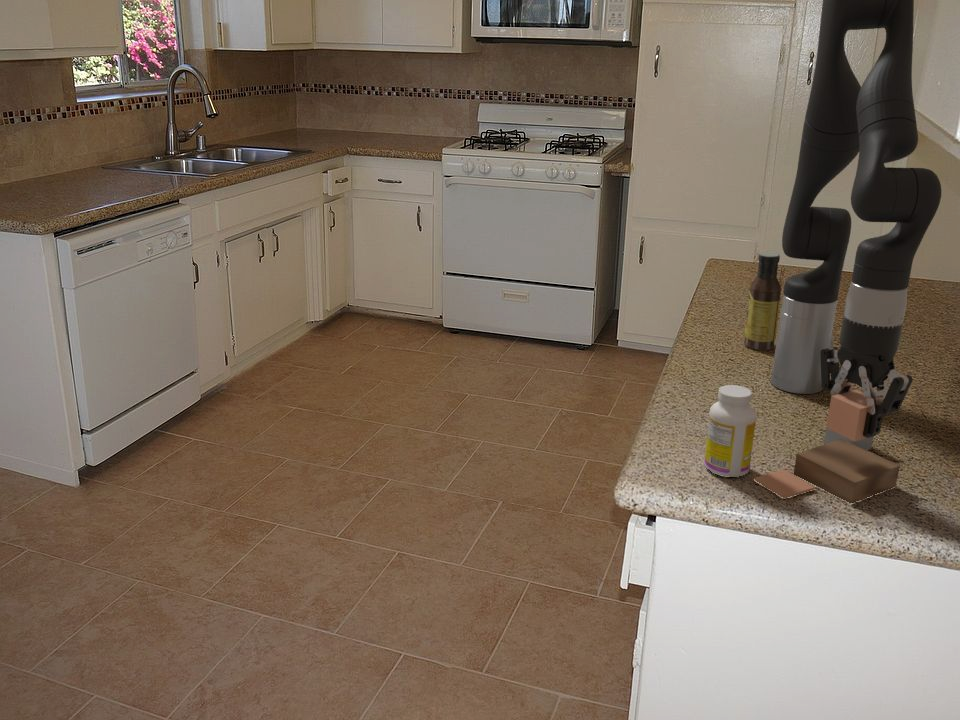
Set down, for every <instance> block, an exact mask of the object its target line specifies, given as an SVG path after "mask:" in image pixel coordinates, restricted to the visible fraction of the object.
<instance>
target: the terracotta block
mask: <svg viewBox="0 0 960 720" xmlns="http://www.w3.org/2000/svg"><path fill="white" fill-rule="evenodd" d="M830 396H831V395H830ZM829 402H830V403H829V407H828V408H829V409H828V415H827V420H826V427H825V429H826V428H828V429H830V430H832V431H834V432H836V433H838V434H840V435H842V436H844V437H846V438H848V439H850V440H852V441H858V440H862V439H865V438H867V437H865V436H863V430H864V425H865V420H866V414H867V413H868V408H867V400H866V398H865V397H864V396H863V391H862V392H861V391H859V390H857V389H855V390H850V392H846V393H842V394H838V395H834V396H831V398H830V401H829ZM876 403H877V400H876ZM879 435H880V433H879V434H876V436H879Z"/></svg>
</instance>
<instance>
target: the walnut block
mask: <svg viewBox="0 0 960 720" xmlns="http://www.w3.org/2000/svg"><path fill="white" fill-rule="evenodd" d="M794 463H795V464H794V470H793V474H794V475H796V476H798V477H800V478H802V479H804V480H806V481H808V482H810V483H812V484H814V485H816V486H818V487H820V488H822V489H824V490H825V491H827V492H829V493H831V494H833V495H835V496H837V497H839V498H841V499H843V500H846V501H847V502H849V503H854V502H856V501H859V500H863V499H865V498H867V497H870V496H872V495H875V494H877V493H880V492H883V491H885V490H888V489H891V488H893V487H895V488H896V487H897V482H898V477H899V472H900V464H898V463H896V462H893V461H891V460H889V459H886V458H884V457H882V456H880V455H877V454H875V453H873V452H871V451H870V450H865V449H862V448H860V447H858V446H856V445H854V444H851V443H849V442H847V441H845V440H843V439H839V440H836V441H833V442H830V443H827V444H825V443H823V444H822V445H818V446H817V447H813V448H811V449H806V450H804V451H800V452H798V453H796V457H795V462H794ZM891 490H892V489H891Z"/></svg>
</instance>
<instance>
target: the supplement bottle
mask: <svg viewBox="0 0 960 720" xmlns="http://www.w3.org/2000/svg"><path fill="white" fill-rule="evenodd" d="M752 395H753V392H752V390H750V389H749V388H747V387H745V386H742V385H741V386H740V385H736V384H735V385H733V384H727V385H726V384H725V385H722V386H721V387H719V389H718V394H717V399H718V401H717V402H715V403H713V404H712V405H711V407H710V409H709V414H708V425H707V433H706V443H705V452H704V462H703V463H704V467H705V466H706V467H707V468H708V469H709V470H710V471H712V472H714V473H717V474H720V475H724V476H729V477H737V478H739V477H738V476H742V477H744V476H746V475H747V474H748V473H749V472H750V468H751V461H752V453H753V444H754V436H755V429H756V421H757V412H756V410H755V408H753V407H752V406H751V405H750V404H751V402H752V398H753V397H752ZM706 467H705V468H706ZM710 471H709V472H710ZM745 474H746V475H745ZM743 475H744V476H743Z"/></svg>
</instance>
